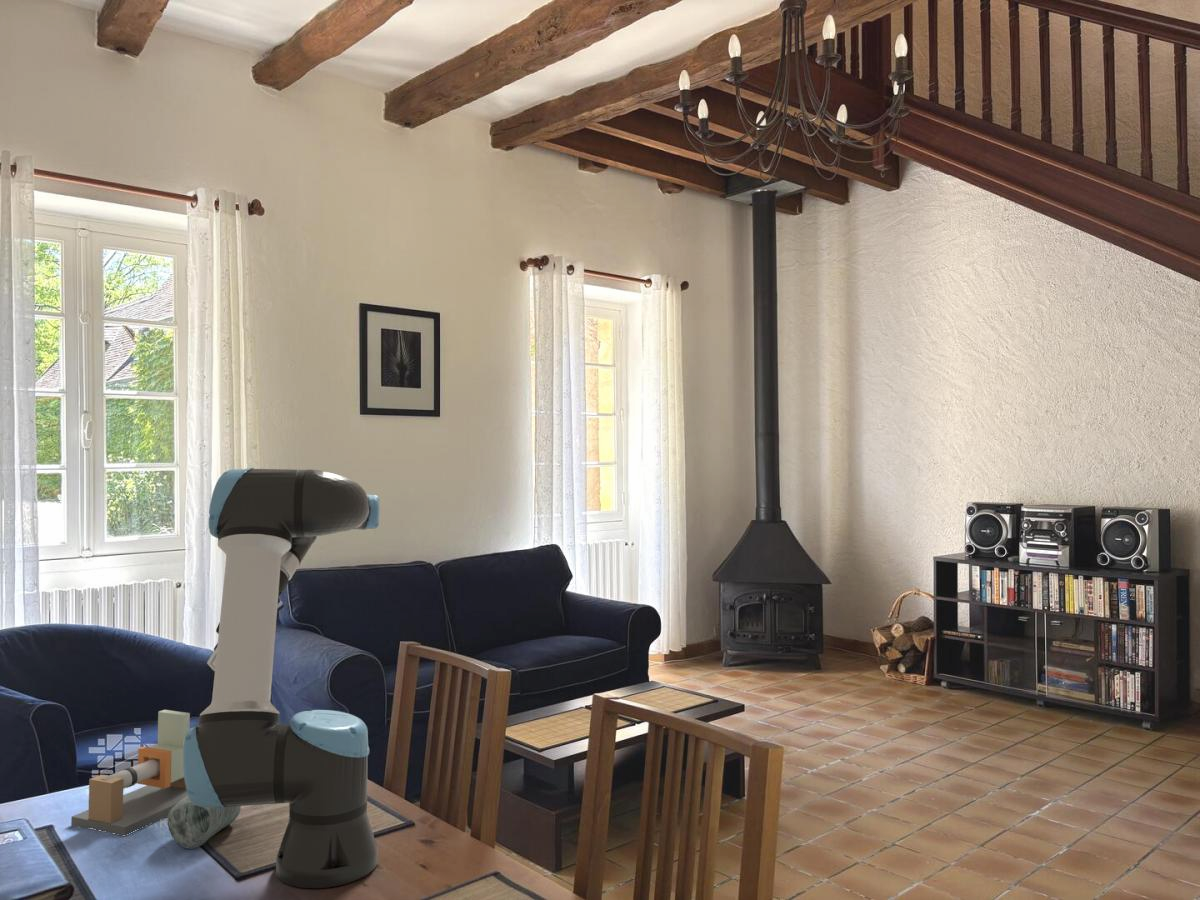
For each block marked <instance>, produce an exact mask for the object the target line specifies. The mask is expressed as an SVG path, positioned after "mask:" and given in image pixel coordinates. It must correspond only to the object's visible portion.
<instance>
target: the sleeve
mask: <svg viewBox="0 0 1200 900" xmlns="http://www.w3.org/2000/svg"><path fill="white" fill-rule="evenodd" d="M157 713H158V714H157V715H158V716H157V744H156V745H151V746H149V747H150V748H157V749H163V750H169V751H171V775H170V783H172V782H174V781H176V780H179V779H181V778H183V777H184V769H183V747H184V742H185V735H186V732H187V731H188V730H189V729H190V728H191V727H190V725H191V724H190V722H191V719H190V718H191V717H190V716H191V712H184V711H176V710H170V709H163V710H159V711H158V712H157ZM151 759H154V758H150V757H149V760H151ZM155 777H160V774H159V775H156V776H155Z"/></svg>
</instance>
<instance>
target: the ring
mask: <svg viewBox="0 0 1200 900" xmlns="http://www.w3.org/2000/svg"><path fill="white" fill-rule="evenodd" d="M150 747H151V746H149V747H148V746H141V747H138V749H137V750H138V751H137V752H138V754H137V755H138V756H137V760H138V761H137V765H138V764H141V763H143V762H146V761H149V757H150V758H156V759H160V777H155V776H154V777H151V778H149V779H146V780H144V781H141V782H139V783H137V784H138V785H143V786H147V785H148V786H153V787H159V788H167V787H170V775H171V751H169V750H163V749H157V748H150Z"/></svg>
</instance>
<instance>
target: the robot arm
mask: <svg viewBox="0 0 1200 900" xmlns="http://www.w3.org/2000/svg"><path fill="white" fill-rule="evenodd" d="M380 504H381V503H380V497H379V496H378V495H376V494H367V492H366V491H365V489H364V488H363V487H362V486H361V485H360V484H359V483H357V482H356V481H354V480H353V479H350V478H348V477H346V476H343V475H340V474H337V473H333V472H331V471H325V470H320V469H309V468H306V469H290V468H288V469H287V468H286V469H285V468H284V469H281V468H279V469H278V468H254V467H247V468H242V469H241V468H238V469H236V468H235V469H234V468H233V469H228V470H226V471H224V472H223V473H222V474H221V476H219V478H218V480H217V482H216V483H215V486H214V489H213V491H212V494H211V500H210V504H209V511H208V513H209V517H208V529H209V533H210V535H211V537H214V538H216V539H217V547H218V548H219V549H220V550H221V551H222V552H223V553H224V554H225V564H224V565H225V566H224V576H223V586H222V597H221V604H220V605H221V607H220V615H219V616H220V617H219V623H218V625H217V627H216V629H215V632H216V633H217V634H218V637H217V643H216V644H215V646H214V648H213V652H212V654H211V656H210V657H209V659H208V660H207V662H206V664H207V665H208V666H209V667H210V668H211V670H212V671H213V672H214V677H213V678H214V679H213V687H212V688H213V690H212V698H211V702H210V705H208V706H207V707H206V708H205V709H204V710H203V711H201V712H200V714H199V718H198V725H197V726H192V727H190V729H189V730H188V731H187V732H186V735H185V742H184V747H183V769H184V779H185V785H186V790H187V793H188V796H189V798H190V800H191V801H192V803H193V804H195V805H196V806H199V807H221V808H227V807H231V806H241V807H243V806H244V807H245V806H247V807H248V806H261V805H274V804H276V805H277V804H289V811H288V812H289V813H288V814H289V815H288V822H287V826H286V828H285V831H284V834H283V837H282V840H281V842H280V846H279V849H278V851H277V854H276V858H275V859H276V861H275V863H276V864H275V874H276V877H277V878H278V880H279V881H281V882H282V883H284V884H286V885H289V886H292V887H295V888H296V887H297V888H303V889H324V888H332V887H333V888H334V887H339V886H342V885H343V886H344V885H346V884H350V883H353V882H356V881H358V880H360V879H362V878H364V877H365V876H367V875H369V874H370V873H371V872H372V871H374V869H375V868H376V866H377V865H378V858H379V857H378V856H379V855H378V853H379V852H378V849H379V848H378V843H377V841H376V839H375V836H374V832H373V828H372V825H371V822H370V819H369V815H368V758H369V757H368V756H369V755H370V747H369V737H368V735H369V732H368V731H369V730H368V726H367V725H366V723H365V722H364V721H363V720H362V719H361V718H360V717H358V716H356V715H354V714H351V713H348V712H345V711H340V710H339V711H338V710H331V709H330V710H329V709H312V710H309V711H308V710H304V711H300V712H297V713H295V714H294V715H293V716H292V717H291V719H290V720H289V723H280V711H279V710H277V708H276V707H275V706H274V705H273V704H272V702H271V696H272V695H271V694H272V684H273V683H272V682H273V667H274V656H275V643H276V631H277V630H276V628H277V617H278V616H277V615H278V613H279V611H280V610H282V609H283V608H284V607H285V605H284V603H283V601H281V599H280V598H279V597H280V596H282V595H283V593H284V591H285V590H286V588H287V587H288V585H289V581H290V580H291V579H292V578H293V576H294V575H295V573H296V571H297V569H298V567H299V566H300V565H301V563H302V562H303V560H304V558H305V556H306V555H307V553H308V551H309V550H310V548H311V547H312V545H313V544H314V543H315V541H316V540H317V538H318V537H321V536H329V535H332V534H336V533H341V532H342V533H343V532H347V531H351V530H363V531H364V530H375V529H377V528H378V527H379V524H380V509H381V508H380Z"/></svg>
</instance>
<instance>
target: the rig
mask: <svg viewBox="0 0 1200 900" xmlns="http://www.w3.org/2000/svg"><path fill="white" fill-rule="evenodd" d="M159 774H160V759H156V758H154V759H151V760H149V761H146V762H143V763H141V764H138V763H137V764H136V765H133V766H131V767H127V768H124V769H122V770H120V771H117V772H114V773H113V774H112V773H111V774H110V775H106V774H99V775H97V776H94V777H91V778H89V780H88V809H87V810H85V811H82V812H80V813H77V814H75V815H73V816H71V823H70V824H71V826H72V827H76V828H83V829H86V828H93V829H96V830H101V831H106V832H110V833H109V834H111V833H115V834H114V835H116V834H119V835H118V836H121V835H127V834H129V833H131V832H133V831H135V830H137V829H139V830H141V829H140V828H142V827H144V828H145V826H146V825H148V826H149V824H150V825H152V824H155V823H156V821H157V822H158V820H159V821H161V820H162V818H163V819H165V818H168V814H169V812H170V810H171V809H172V807H174V806H175V805H176V804H177V803H178V802H179V801H180V800H182V799H183V798H184V797H185V796H187V795H188V793H187V790H186V785H185V779H184V777H183V778H181V779H179V780H176V781H174V782H172V783H170V787H167V788H159V787H153V786H148V785H143V786H141V787H139V788H138V789H134V790H133V791H130V792H128V793H126V794H124V789H127V788H131V787H134V786H135V785H136V784H138V783H139V782H141V781H144V780H146V779H149V778H151V777H154V776H156V775H159ZM160 819H161V820H160ZM151 823H152V824H151ZM146 827H147V826H146ZM142 829H143V828H142ZM96 830H95V831H96ZM101 831H100V832H101ZM137 831H138V830H137ZM106 832H105V833H106ZM135 832H136V831H135ZM133 833H134V832H133ZM131 834H132V833H131ZM129 835H130V834H129ZM127 836H128V835H127Z"/></svg>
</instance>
